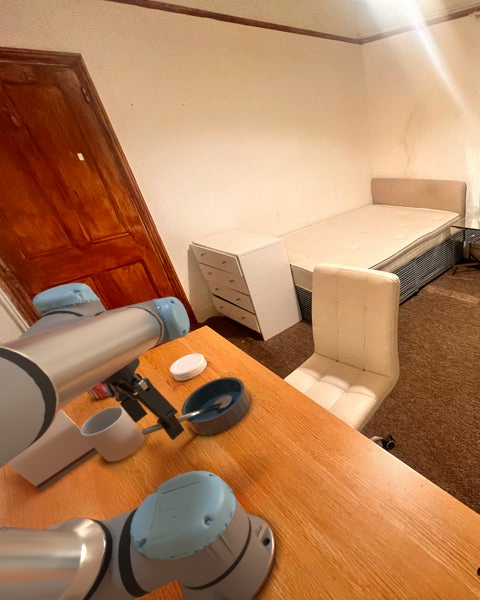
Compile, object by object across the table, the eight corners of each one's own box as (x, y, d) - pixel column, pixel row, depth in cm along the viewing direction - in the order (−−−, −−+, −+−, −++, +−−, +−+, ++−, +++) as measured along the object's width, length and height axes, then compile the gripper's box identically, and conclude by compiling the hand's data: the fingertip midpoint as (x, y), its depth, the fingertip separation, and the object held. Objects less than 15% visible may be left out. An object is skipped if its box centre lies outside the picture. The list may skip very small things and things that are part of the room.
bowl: (218, 444, 79) (209, 429, 76) (178, 426, 85) (168, 412, 82) (262, 398, 91) (256, 384, 88) (224, 385, 97) (217, 371, 94)
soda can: (97, 388, 100) (74, 360, 94) (123, 380, 102) (103, 353, 96) (89, 404, 94) (64, 375, 88) (117, 395, 97) (94, 367, 90)
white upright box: (84, 433, 85) (-13, 333, 67) (100, 450, 80) (-1, 347, 62) (28, 469, 77) (-101, 366, 59) (41, 491, 72) (-95, 386, 54)
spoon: (226, 397, 92) (209, 368, 85) (238, 401, 90) (221, 372, 84) (161, 459, 77) (134, 429, 70) (173, 465, 75) (147, 435, 68)
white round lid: (204, 356, 110) (200, 348, 108) (210, 370, 103) (206, 363, 102) (172, 370, 105) (167, 362, 103) (176, 386, 98) (171, 378, 96)
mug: (152, 438, 82) (131, 411, 77) (118, 467, 76) (91, 440, 70) (126, 425, 87) (103, 398, 81) (90, 451, 80) (63, 425, 74)
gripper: (167, 358, 60) (209, 428, 71) (95, 334, 69) (142, 400, 80) (125, 385, 54) (178, 457, 65) (52, 356, 63) (110, 423, 74)
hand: (158, 426), depth 72 cm, fingers open, 13 cm apart
